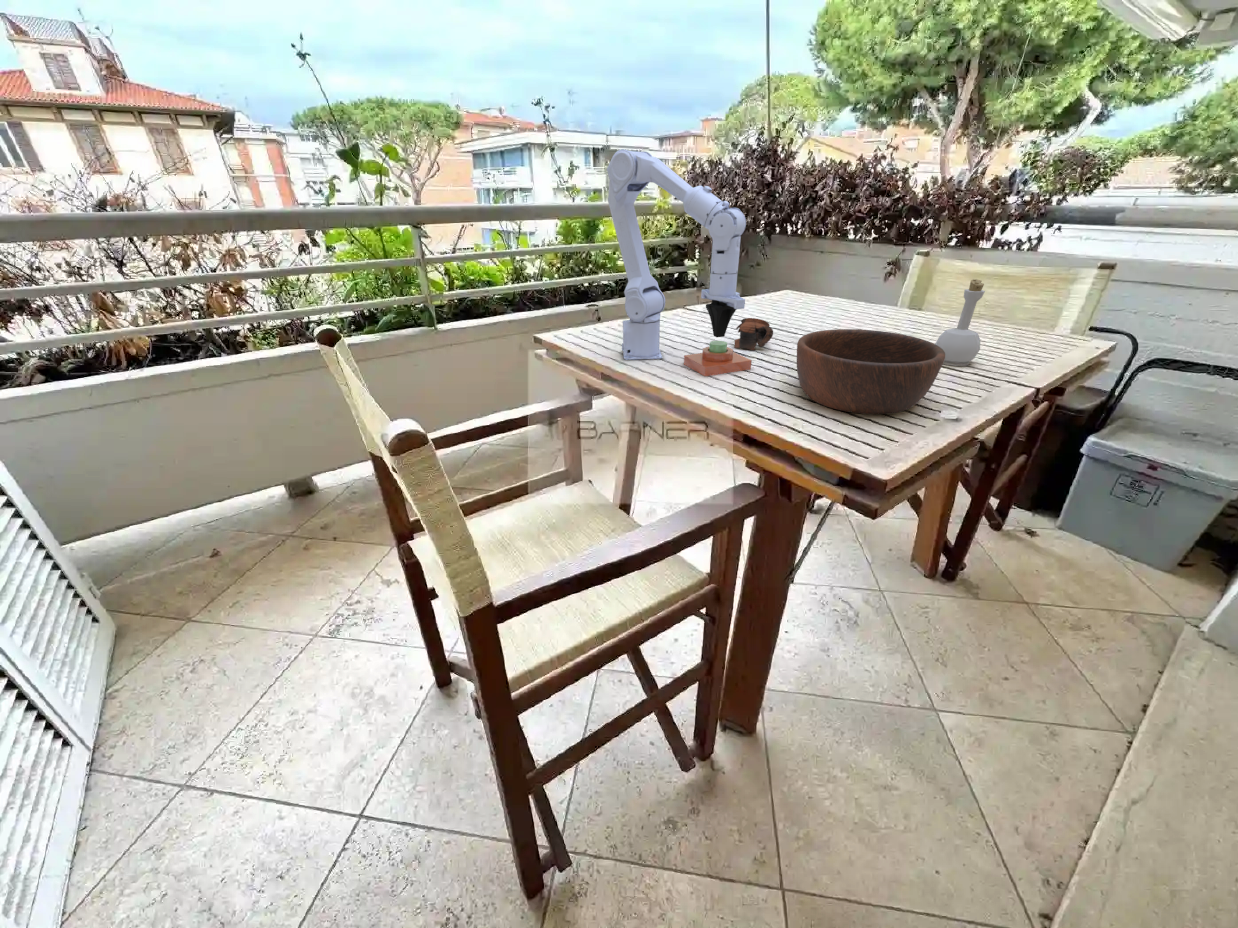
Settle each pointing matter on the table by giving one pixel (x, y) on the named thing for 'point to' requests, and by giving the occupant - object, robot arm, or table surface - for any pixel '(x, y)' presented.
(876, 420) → the table surface
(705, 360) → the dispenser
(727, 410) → the table surface
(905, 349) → the wooden bowl
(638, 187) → the robot arm
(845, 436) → the table surface
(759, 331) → the pottery mug
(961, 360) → the potion bottle
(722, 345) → the green button cap
